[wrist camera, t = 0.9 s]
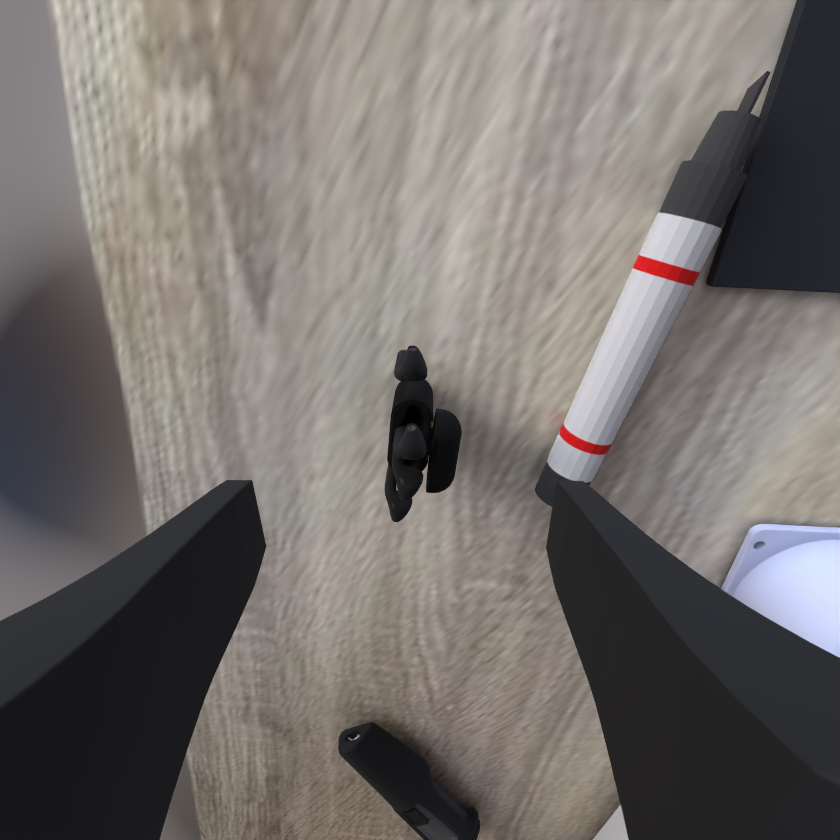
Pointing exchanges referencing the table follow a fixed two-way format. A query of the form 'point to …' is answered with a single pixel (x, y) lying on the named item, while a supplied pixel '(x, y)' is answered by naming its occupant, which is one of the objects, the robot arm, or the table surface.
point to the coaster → (792, 169)
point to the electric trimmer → (406, 784)
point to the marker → (653, 294)
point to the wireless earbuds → (418, 437)
